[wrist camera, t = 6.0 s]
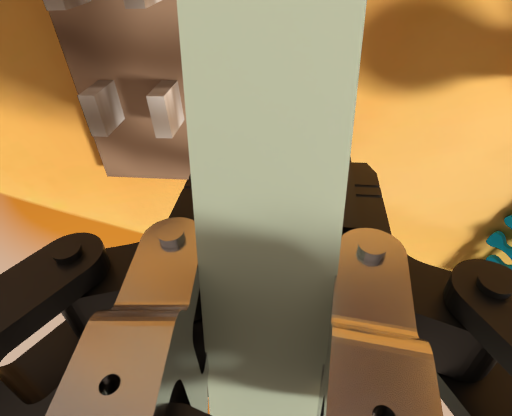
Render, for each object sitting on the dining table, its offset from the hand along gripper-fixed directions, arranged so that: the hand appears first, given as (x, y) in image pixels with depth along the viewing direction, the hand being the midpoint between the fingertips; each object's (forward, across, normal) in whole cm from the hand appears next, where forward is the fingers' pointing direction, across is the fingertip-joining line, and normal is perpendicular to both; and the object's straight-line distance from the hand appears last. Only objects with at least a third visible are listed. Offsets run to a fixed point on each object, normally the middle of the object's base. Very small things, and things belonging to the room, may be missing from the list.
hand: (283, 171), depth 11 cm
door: (+3, 0, +1) cm, 3 cm away
